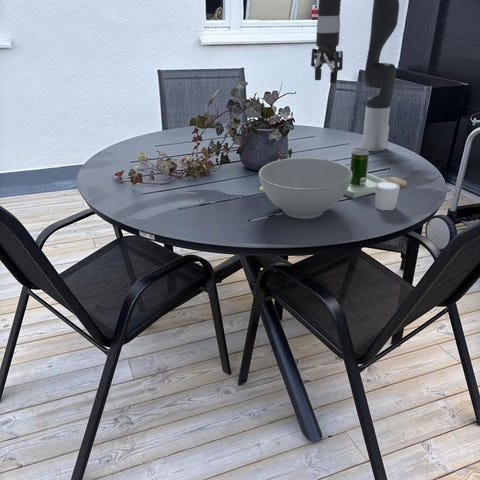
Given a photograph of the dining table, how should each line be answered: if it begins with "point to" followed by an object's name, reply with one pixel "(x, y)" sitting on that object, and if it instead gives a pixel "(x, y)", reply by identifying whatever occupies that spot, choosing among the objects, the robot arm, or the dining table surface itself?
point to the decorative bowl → (305, 185)
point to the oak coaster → (396, 181)
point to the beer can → (359, 166)
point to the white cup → (386, 195)
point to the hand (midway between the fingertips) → (325, 81)
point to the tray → (364, 187)
